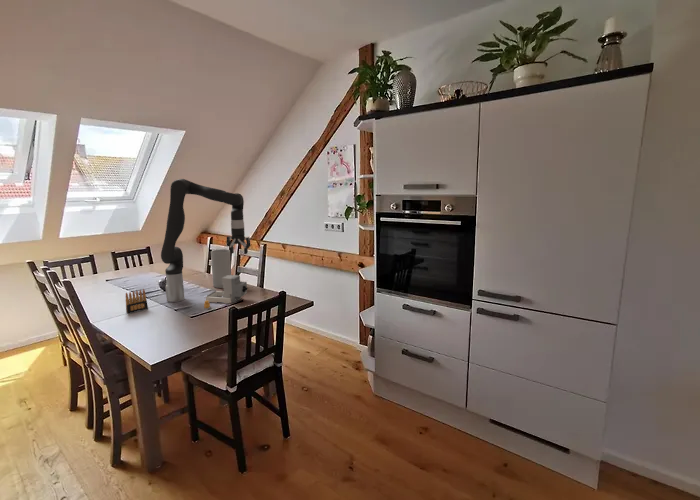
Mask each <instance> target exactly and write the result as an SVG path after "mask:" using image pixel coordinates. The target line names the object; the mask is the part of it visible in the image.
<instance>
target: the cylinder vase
mask: <svg viewBox="0 0 700 500" xmlns="http://www.w3.org/2000/svg"><path fill="white" fill-rule="evenodd" d="M210 258H211V259H210V260H211V261H210V262H211V275H212V286H213V288H216V289H223V285H222V278H223V277H225V276H227V275H232V265H231V264H232V263H231V252H230V249H226V248H225V249H223V248H222V249H215V250H211V251H210Z"/></svg>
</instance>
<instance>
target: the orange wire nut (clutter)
mask: <svg viewBox="0 0 700 500" xmlns="http://www.w3.org/2000/svg"><path fill="white" fill-rule="evenodd" d="M203 307H204V309H210V308H211V302H209V301H208V300H207V301H206V300H204V303H203ZM209 307H210V308H209Z"/></svg>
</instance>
